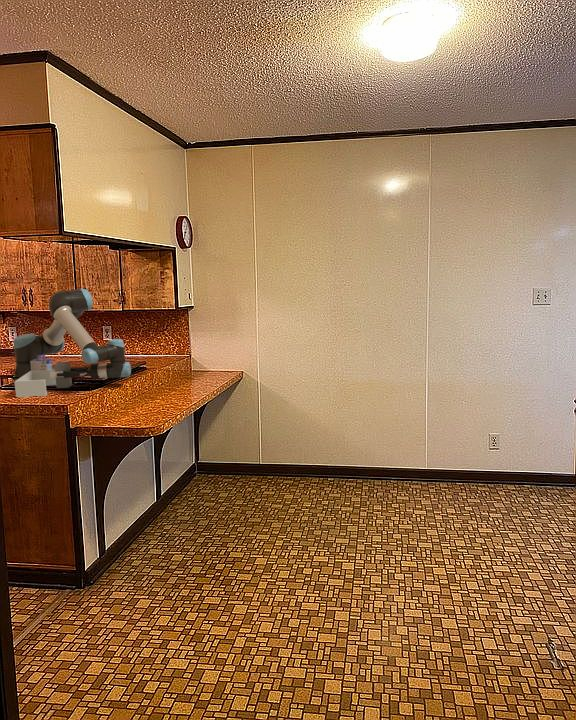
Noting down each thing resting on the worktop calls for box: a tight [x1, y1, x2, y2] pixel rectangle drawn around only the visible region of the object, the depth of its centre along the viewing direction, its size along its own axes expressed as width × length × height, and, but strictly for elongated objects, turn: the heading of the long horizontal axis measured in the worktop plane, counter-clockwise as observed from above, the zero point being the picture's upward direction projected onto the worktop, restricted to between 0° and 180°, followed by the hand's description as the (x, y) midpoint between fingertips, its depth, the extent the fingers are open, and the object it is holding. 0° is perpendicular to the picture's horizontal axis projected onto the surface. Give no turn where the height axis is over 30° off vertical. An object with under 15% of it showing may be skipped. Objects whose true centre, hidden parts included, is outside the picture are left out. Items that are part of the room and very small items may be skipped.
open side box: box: [14, 369, 56, 398], centre depth 316 cm, size 24×14×8 cm, turn 4°
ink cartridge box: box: [30, 355, 54, 371], centre depth 334 cm, size 10×6×14 cm, turn 78°
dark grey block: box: [53, 361, 73, 389], centre depth 316 cm, size 6×6×12 cm
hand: (52, 373), depth 315 cm, fingers closed on dark grey block, 6 cm apart
